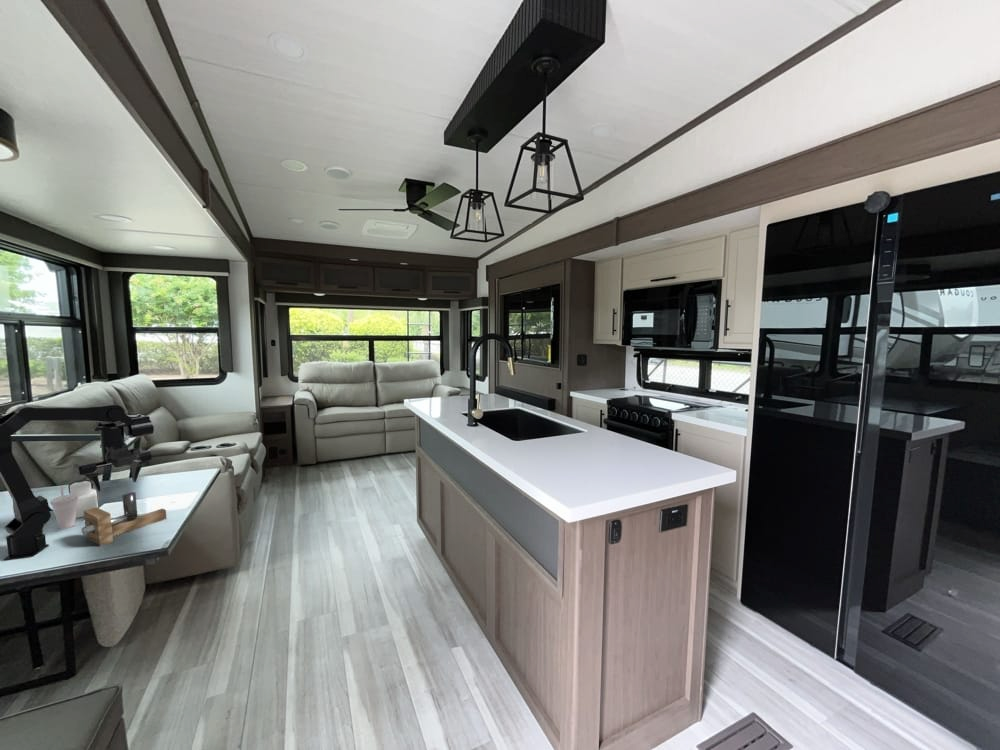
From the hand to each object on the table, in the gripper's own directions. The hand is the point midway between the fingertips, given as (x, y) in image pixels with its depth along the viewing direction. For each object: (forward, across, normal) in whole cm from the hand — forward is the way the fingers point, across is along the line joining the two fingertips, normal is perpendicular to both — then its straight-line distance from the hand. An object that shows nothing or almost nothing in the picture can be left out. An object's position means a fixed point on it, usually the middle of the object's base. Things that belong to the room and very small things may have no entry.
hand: (117, 486), depth 135 cm
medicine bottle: (+13, -3, +21) cm, 25 cm away
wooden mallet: (+13, 0, -8) cm, 16 cm away
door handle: (+10, -5, -8) cm, 14 cm away
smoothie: (+13, -9, +14) cm, 21 cm away
